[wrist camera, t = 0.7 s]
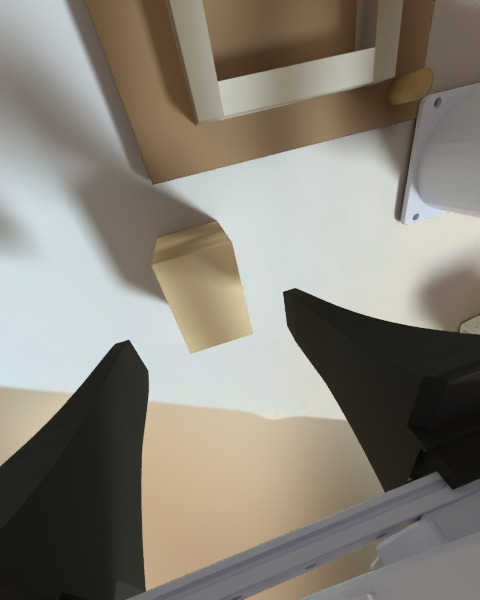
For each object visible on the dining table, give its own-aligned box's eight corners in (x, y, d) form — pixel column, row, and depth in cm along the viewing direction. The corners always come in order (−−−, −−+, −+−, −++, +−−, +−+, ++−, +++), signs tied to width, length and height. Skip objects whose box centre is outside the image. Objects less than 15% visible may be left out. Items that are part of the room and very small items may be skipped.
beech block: (216, 220, 16) (231, 242, 12) (235, 295, 19) (252, 333, 15) (157, 236, 16) (151, 264, 11) (186, 310, 19) (190, 353, 15)
